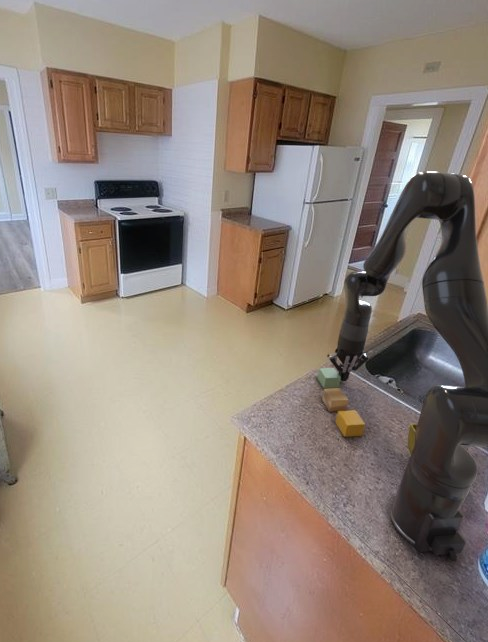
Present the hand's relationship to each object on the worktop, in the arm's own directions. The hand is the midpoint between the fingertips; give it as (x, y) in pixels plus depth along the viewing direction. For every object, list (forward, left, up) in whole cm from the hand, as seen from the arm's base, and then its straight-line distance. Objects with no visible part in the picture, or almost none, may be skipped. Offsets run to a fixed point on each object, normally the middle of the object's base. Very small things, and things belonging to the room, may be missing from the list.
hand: (342, 379), depth 104 cm
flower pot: (-31, -5, -1) cm, 32 cm away
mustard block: (-19, +8, -1) cm, 20 cm away
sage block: (0, +5, -1) cm, 5 cm away
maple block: (-10, +8, -1) cm, 12 cm away
